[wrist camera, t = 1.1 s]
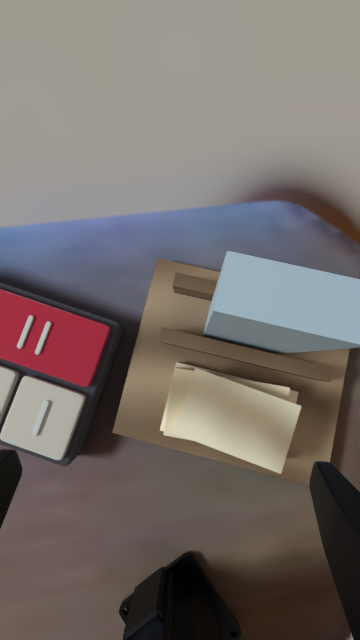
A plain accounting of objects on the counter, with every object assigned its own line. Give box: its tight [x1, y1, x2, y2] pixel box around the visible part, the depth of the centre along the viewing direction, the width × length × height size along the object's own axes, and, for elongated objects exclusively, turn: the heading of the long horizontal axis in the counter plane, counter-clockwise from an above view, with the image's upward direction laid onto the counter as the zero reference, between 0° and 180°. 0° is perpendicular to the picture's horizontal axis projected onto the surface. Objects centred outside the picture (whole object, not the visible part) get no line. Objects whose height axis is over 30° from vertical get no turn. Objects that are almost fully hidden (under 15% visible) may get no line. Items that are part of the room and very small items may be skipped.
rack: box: [112, 258, 350, 485], centre depth 23 cm, size 14×16×4 cm
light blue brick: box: [203, 251, 360, 354], centre depth 18 cm, size 2×6×12 cm, turn 76°
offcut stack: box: [160, 362, 301, 474], centre depth 21 cm, size 5×9×3 cm, turn 76°
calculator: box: [0, 282, 125, 466], centre depth 24 cm, size 11×4×15 cm
